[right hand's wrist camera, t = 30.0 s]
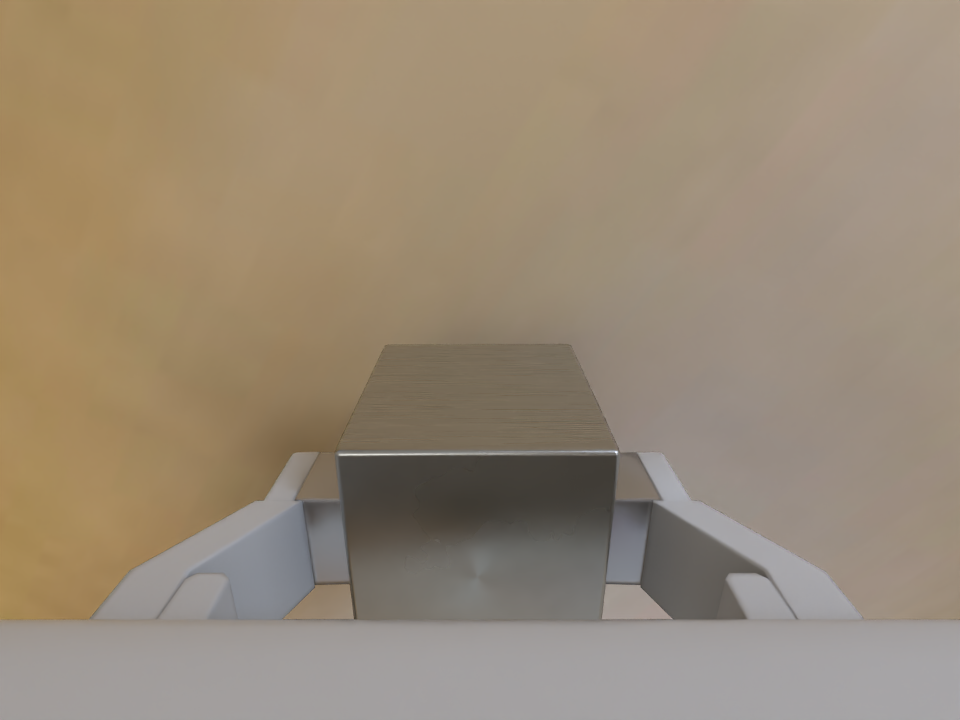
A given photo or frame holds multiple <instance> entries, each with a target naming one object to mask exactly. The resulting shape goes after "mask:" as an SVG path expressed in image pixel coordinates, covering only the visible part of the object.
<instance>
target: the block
mask: <svg viewBox="0 0 960 720" xmlns="http://www.w3.org/2000/svg"><path fill="white" fill-rule="evenodd" d="M334 456H335V464H336V473H337V481H338V489H339V498H340V506H341V514H342V523H343V531H344V540H345V548H346V556H347V565H348V573H349V581H350V590H351V598H352V606H353V615H354V619H602V612H603V603H604V594H605V585H606V576H607V568H608V559H609V550H610V541H611V532H612V524H613V515H614V506H615V497H616V488H617V480H618V471H619V462H620V450H619V448H618V446H617V443H616V441H615V439H614V437H613V435H612V433H611V431H610V428H609V426H608V424H607V422H606V420H605V418H604V416H603V413H602V411H601V409H600V407H599V405H598V403H597V400H596V398H595V396H594V394H593V392H592V390H591V388H590V385H589V383H588V381H587V379H586V377H585V375H584V373H583V370H582V368H581V366H580V364H579V362H578V360H577V358H576V355H575V353H574V351H573V349H572V347H571V345H568V344H514V345H386V346H385V347H384V349H383V351H382V353H381V355H380V357H379V359H378V361H377V363H376V365H375V368H374V370H373V372H372V374H371V376H370V378H369V380H368V382H367V384H366V387H365V389H364V391H363V393H362V395H361V397H360V399H359V401H358V403H357V405H356V408H355V410H354V412H353V414H352V416H351V418H350V420H349V422H348V424H347V427H346V429H345V431H344V433H343V435H342V437H341V439H340V441H339V443H338V446H337V448H336V450H335V453H334Z"/></svg>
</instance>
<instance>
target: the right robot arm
mask: <svg viewBox="0 0 960 720" xmlns="http://www.w3.org/2000/svg"><path fill="white" fill-rule="evenodd" d="M334 453H335V452H322V453H321V452H296V453H293V454H292V455H291V457H290V458H289V460H288V462H287V463H286V465H285V467H284V468H283V470H282V471H281V473H280V475H279V476H278V478H277V479H276V481H275V483H274V484H273V486H272V488H271V489H270V491H269V492H268V494H267V496H266V497H265V499H264V500H263V501H254V502H252V503H250V504H249V505H247V506H245V507H243V508H241V509H240V510H238V511H236V512H234V513H232V514H231V515H229V516H227V517H225V518H223V519H222V520H220V521H218V522H216V523H214V524H213V525H211V526H209V527H207V528H205V529H204V530H202V531H200V532H198V533H196V534H195V535H193V536H191V537H189V538H187V539H186V540H184V541H182V542H180V543H178V544H177V545H175V546H173V547H171V548H169V549H168V550H166V551H164V552H162V553H160V554H159V555H157V556H155V557H153V558H151V559H150V560H148V561H146V562H144V563H142V564H141V565H139V566H137V567H135V568H133V569H132V570H130V571H129V572H128V573H127V574H126V575H125V577H124V578H123V579H122V580H121V581H120V583H119V584H118V585H117V586H116V587H115V589H114V590H113V591H112V592H111V593H110V595H109V596H108V597H107V598H106V599H105V601H104V602H103V603H102V604H101V605H100V607H99V608H98V609H97V610H96V611H95V613H94V614H93V615H92V616H91V617H90V619H80V620H0V720H960V619H864V618H863V617H862V616H861V614H860V613H859V612H858V611H857V609H856V608H855V607H854V606H853V605H852V603H851V602H850V601H849V600H848V598H847V597H846V596H845V595H844V593H843V592H842V591H841V590H840V589H839V587H838V586H837V585H836V584H835V582H834V581H833V580H832V579H831V577H830V576H829V575H828V574H827V573H826V571H824V570H822V569H820V568H818V567H817V566H815V565H813V564H811V563H810V562H808V561H806V560H804V559H802V558H801V557H799V556H797V555H795V554H794V553H792V552H790V551H788V550H786V549H785V548H783V547H781V546H779V545H778V544H776V543H774V542H772V541H770V540H769V539H767V538H765V537H763V536H762V535H760V534H758V533H756V532H754V531H753V530H751V529H749V528H747V527H746V526H744V525H742V524H740V523H738V522H737V521H735V520H733V519H731V518H730V517H728V516H726V515H724V514H722V513H721V512H719V511H717V510H715V509H714V508H712V507H710V506H708V505H706V504H705V503H703V502H701V501H692V500H691V499H690V497H689V495H688V494H687V492H686V490H685V489H684V487H683V486H682V484H681V482H680V481H679V479H678V477H677V476H676V474H675V472H674V471H673V469H672V468H671V466H670V464H669V463H668V461H667V459H666V458H665V456H664V455H663V453H661V452H635V453H620V462H619V471H618V480H617V488H616V497H615V506H614V515H613V524H612V532H611V541H610V550H609V559H608V568H607V576H606V584H626V585H641V588H642V589H643V590H644V591H645V592H646V593H647V594H648V595H649V596H650V597H651V598H652V599H653V600H654V601H655V602H656V603H657V604H658V605H659V606H660V607H661V608H662V609H663V610H664V611H665V612H666V613H667V614H668V615H670V616H671V617H672V618H673V619H283V618H284V617H285V616H286V615H287V614H288V613H289V612H290V611H291V610H292V609H293V608H294V607H295V606H296V605H297V604H298V603H299V602H300V601H301V600H302V599H303V598H305V597H306V596H307V595H308V594H309V593H310V592H311V591H312V590H313V589H314V588H315V585H329V584H350V581H349V573H348V565H347V556H346V548H345V540H344V531H343V523H342V514H341V506H340V498H339V489H338V481H337V473H336V464H335V456H334Z"/></svg>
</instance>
